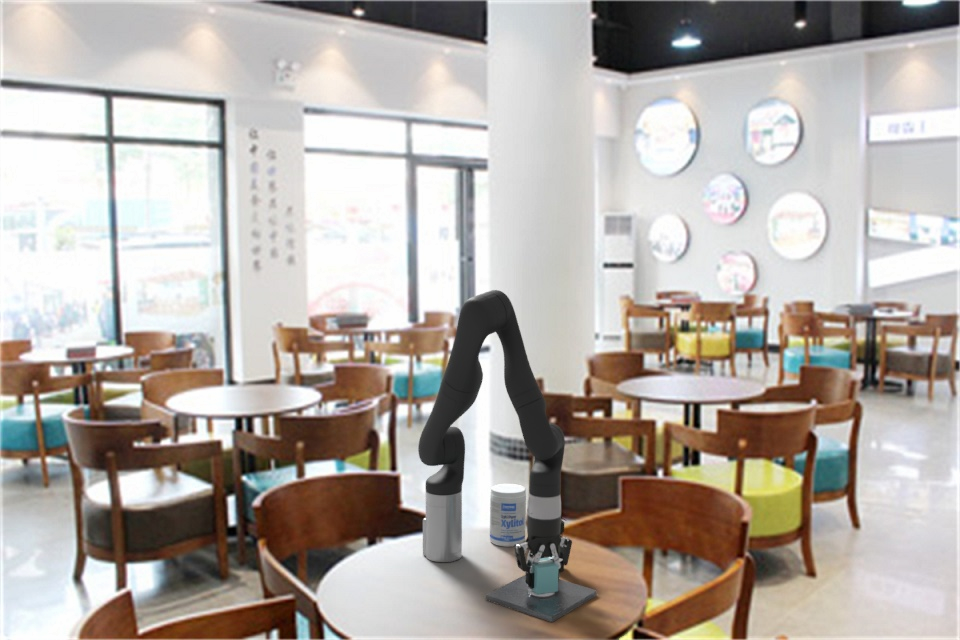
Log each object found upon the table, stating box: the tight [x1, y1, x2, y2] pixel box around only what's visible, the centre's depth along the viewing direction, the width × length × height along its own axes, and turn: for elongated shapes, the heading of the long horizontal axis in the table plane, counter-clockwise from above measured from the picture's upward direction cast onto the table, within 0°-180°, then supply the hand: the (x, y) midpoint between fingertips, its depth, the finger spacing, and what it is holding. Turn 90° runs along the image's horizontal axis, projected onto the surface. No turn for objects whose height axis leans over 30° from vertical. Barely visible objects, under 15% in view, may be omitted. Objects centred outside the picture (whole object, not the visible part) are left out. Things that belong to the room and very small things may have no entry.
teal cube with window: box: [527, 557, 559, 594], centre depth 197 cm, size 5×5×6 cm
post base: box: [485, 574, 598, 623], centre depth 196 cm, size 18×18×6 cm
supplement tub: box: [489, 483, 527, 548], centre depth 232 cm, size 10×10×15 cm
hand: (542, 585), depth 197 cm, fingers closed on teal cube with window, 5 cm apart
